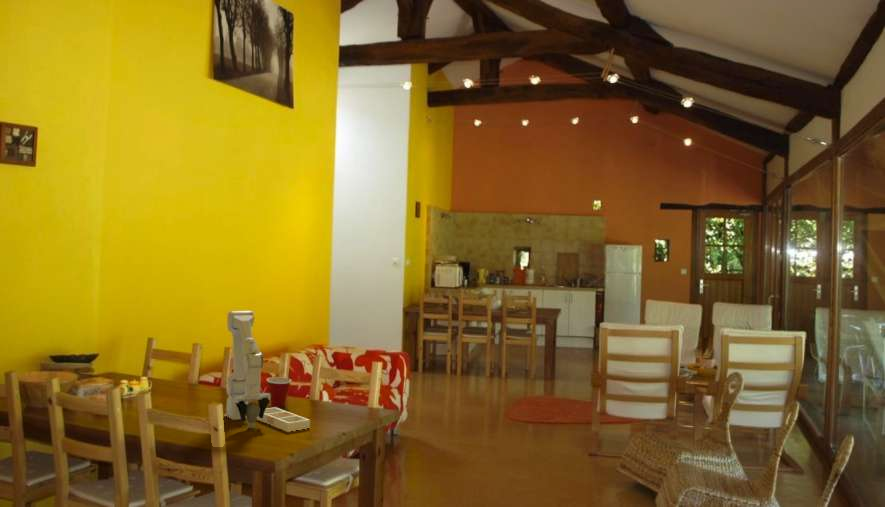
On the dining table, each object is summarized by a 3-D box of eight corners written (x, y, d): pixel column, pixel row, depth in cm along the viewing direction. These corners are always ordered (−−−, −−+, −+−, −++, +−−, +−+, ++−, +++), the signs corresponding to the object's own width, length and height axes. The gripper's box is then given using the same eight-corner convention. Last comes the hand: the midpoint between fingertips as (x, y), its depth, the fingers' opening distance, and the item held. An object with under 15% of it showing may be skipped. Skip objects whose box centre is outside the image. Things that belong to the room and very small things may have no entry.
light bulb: (247, 430, 282) (247, 404, 282) (241, 427, 287) (242, 401, 287) (262, 428, 286) (262, 403, 286) (256, 425, 290) (256, 400, 290)
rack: (253, 418, 302) (253, 410, 302) (275, 415, 308) (275, 407, 308) (287, 432, 281) (287, 423, 281) (309, 428, 288) (309, 419, 288)
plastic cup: (276, 409, 319) (277, 382, 319) (260, 405, 326) (261, 379, 325) (295, 405, 328) (296, 379, 328) (279, 402, 334) (280, 376, 334)
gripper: (240, 387, 278) (239, 423, 278) (274, 384, 288) (273, 418, 288) (232, 385, 284) (231, 420, 284) (265, 381, 293) (265, 415, 293)
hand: (252, 419), depth 286 cm, fingers open, 7 cm apart
